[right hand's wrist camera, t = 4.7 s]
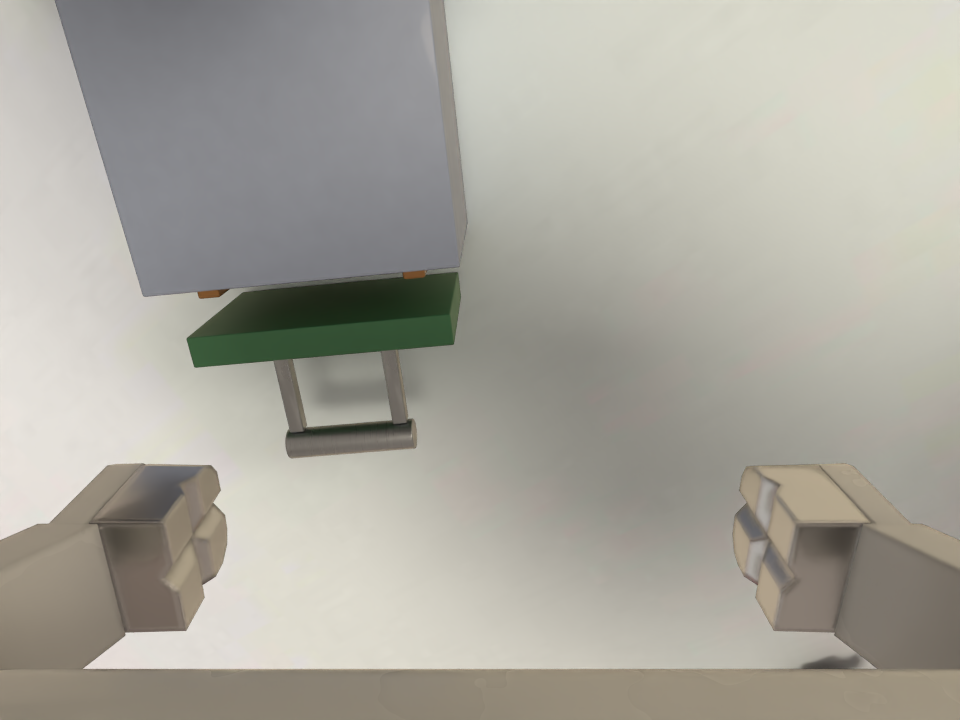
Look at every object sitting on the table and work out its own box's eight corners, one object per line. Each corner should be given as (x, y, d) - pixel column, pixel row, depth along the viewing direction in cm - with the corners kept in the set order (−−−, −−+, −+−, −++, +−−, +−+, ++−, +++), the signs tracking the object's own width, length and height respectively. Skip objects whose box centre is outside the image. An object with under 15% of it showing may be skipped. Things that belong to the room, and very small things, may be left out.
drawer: (472, 398, 32) (468, 463, 26) (271, 415, 33) (226, 482, 27) (411, -135, 24) (387, -203, 19) (147, -101, 25) (46, -158, 19)
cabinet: (467, 223, 30) (460, 267, 22) (226, 247, 30) (142, 297, 23) (414, -275, 23) (379, -440, 16) (109, -233, 24) (-58, -374, 17)
